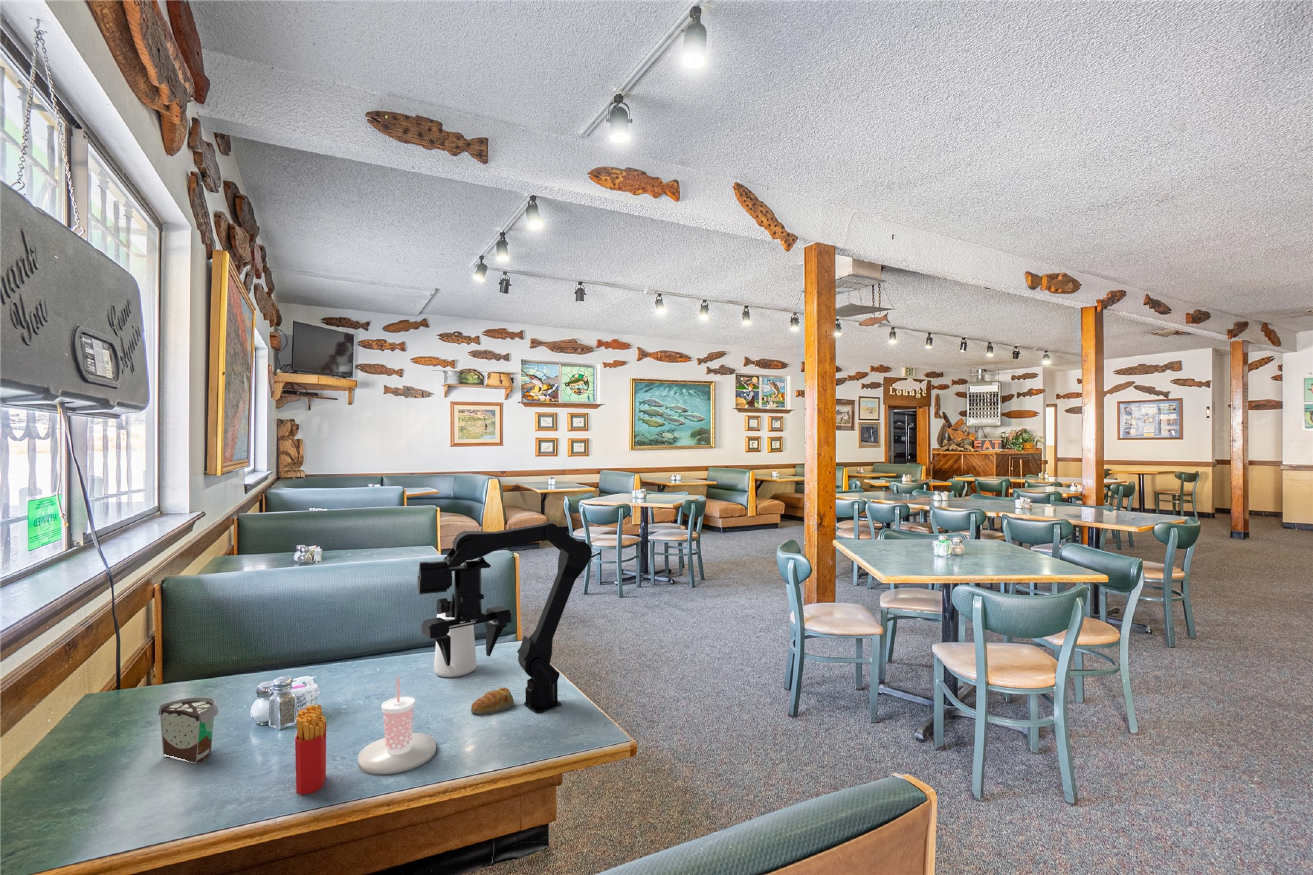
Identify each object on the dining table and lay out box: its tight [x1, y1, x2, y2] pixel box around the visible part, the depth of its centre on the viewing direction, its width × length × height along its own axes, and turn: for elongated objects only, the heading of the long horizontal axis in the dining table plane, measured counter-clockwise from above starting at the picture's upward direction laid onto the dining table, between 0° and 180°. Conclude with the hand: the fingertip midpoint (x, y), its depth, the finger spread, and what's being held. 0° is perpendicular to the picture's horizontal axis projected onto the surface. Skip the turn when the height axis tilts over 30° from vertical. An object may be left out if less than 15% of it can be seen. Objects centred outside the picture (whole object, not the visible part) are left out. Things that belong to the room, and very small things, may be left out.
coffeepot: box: [433, 613, 477, 678], centre depth 168 cm, size 11×25×19 cm, turn 6°
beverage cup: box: [381, 676, 416, 755], centre depth 121 cm, size 6×6×14 cm
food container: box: [157, 696, 219, 765], centre depth 123 cm, size 12×6×10 cm, turn 71°
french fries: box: [294, 703, 327, 796], centre depth 112 cm, size 9×4×13 cm, turn 20°
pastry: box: [470, 687, 515, 716], centre depth 143 cm, size 9×7×4 cm
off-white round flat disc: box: [357, 732, 437, 775], centre depth 121 cm, size 14×14×1 cm
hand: (468, 660), depth 137 cm, fingers open, 9 cm apart
